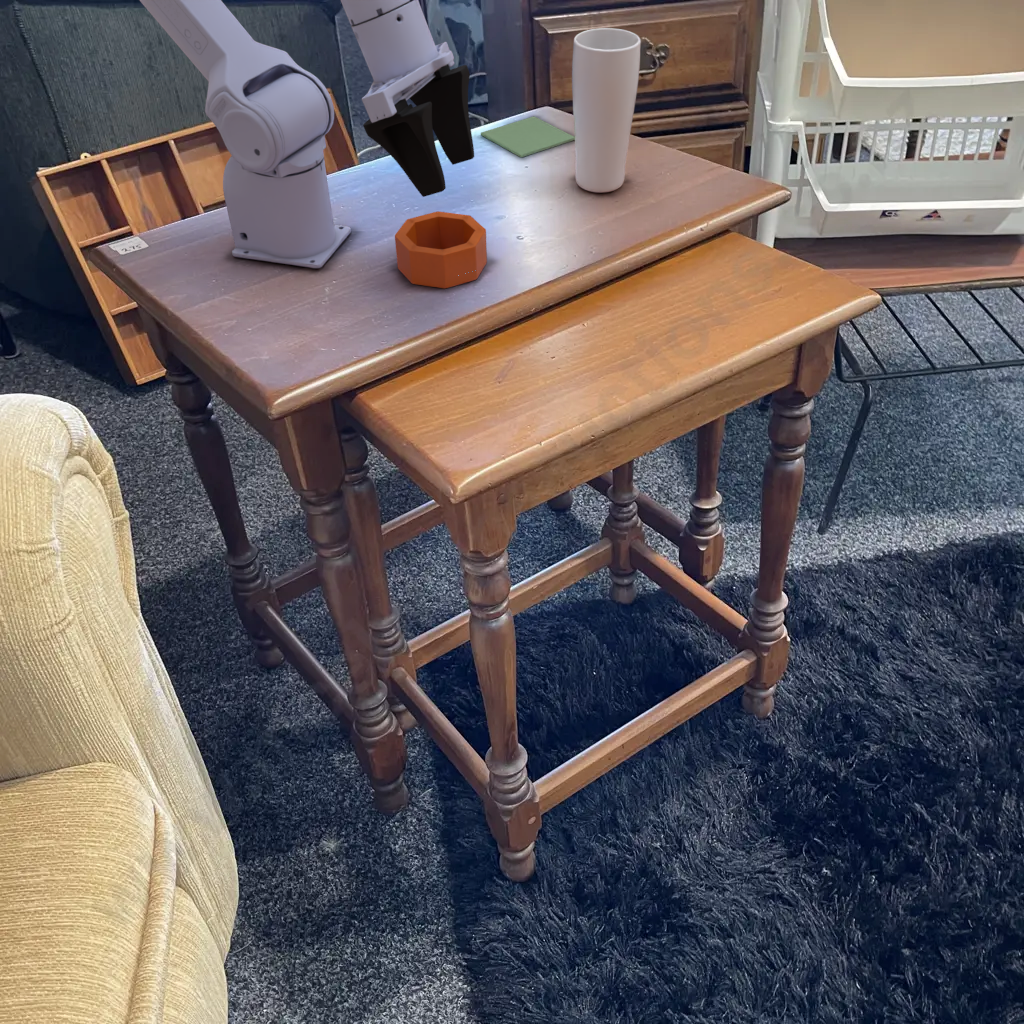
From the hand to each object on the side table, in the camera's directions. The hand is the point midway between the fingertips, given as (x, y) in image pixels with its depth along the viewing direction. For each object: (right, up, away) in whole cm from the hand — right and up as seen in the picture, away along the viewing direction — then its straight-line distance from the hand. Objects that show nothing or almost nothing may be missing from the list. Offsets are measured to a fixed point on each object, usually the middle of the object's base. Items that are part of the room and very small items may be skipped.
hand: (449, 176), depth 85 cm
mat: (+7, +15, +31) cm, 36 cm away
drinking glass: (+15, +7, +22) cm, 28 cm away
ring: (-1, -5, +10) cm, 11 cm away
